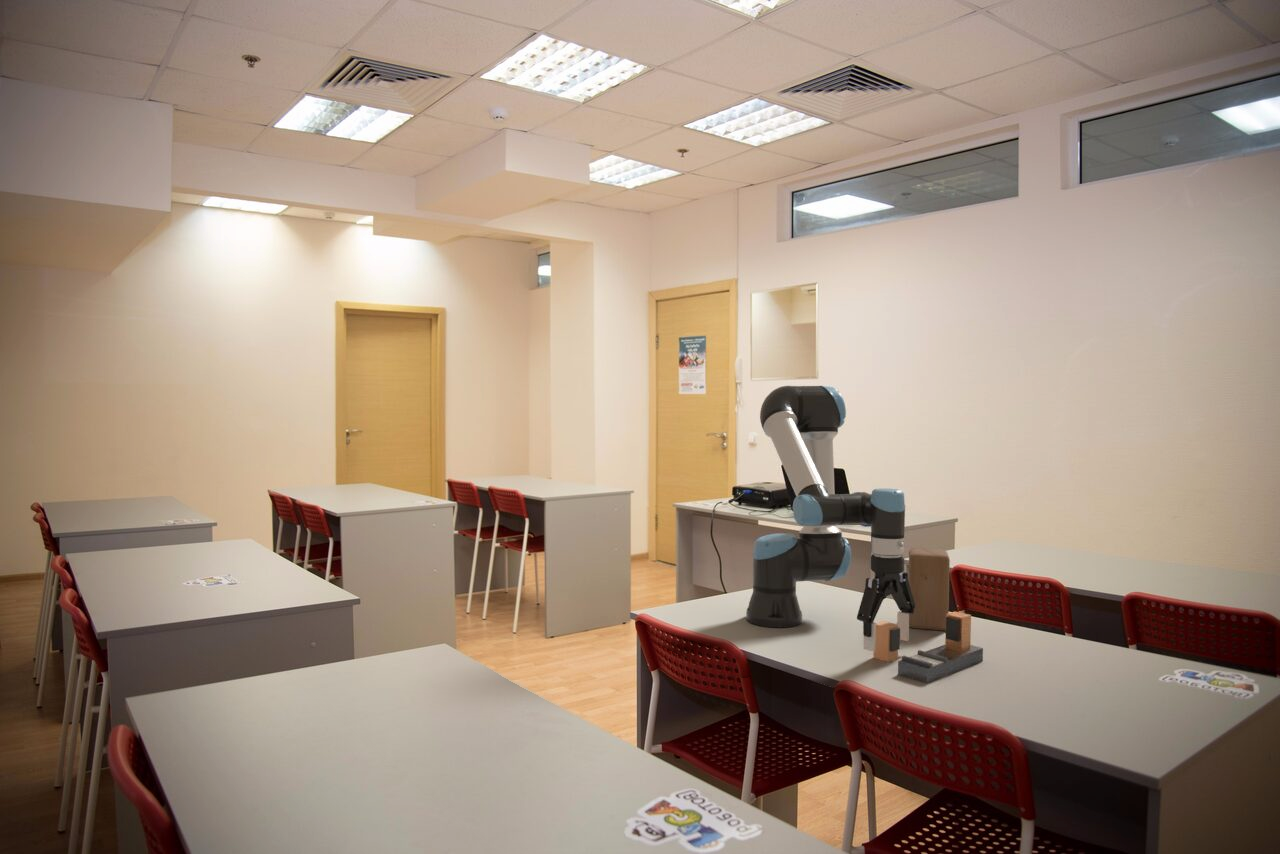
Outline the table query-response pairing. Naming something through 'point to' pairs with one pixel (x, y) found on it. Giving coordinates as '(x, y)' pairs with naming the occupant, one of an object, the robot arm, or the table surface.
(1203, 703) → the table surface
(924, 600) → the wooden block
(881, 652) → the tall peach prism
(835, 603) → the table surface
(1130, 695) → the table surface
